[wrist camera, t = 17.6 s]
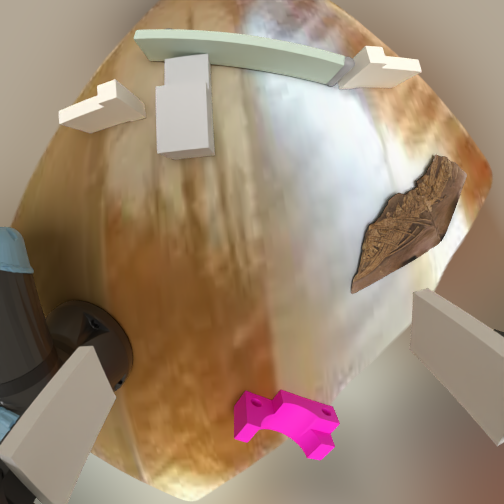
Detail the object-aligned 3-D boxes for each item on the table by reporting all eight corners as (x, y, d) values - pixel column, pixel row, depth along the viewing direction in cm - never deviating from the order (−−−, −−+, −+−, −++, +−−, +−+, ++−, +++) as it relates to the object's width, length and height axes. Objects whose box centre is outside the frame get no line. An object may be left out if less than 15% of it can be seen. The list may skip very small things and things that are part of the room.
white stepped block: (174, 159, 35) (157, 153, 27) (171, 70, 32) (156, 45, 24) (215, 155, 35) (208, 147, 27) (210, 66, 32) (204, 38, 24)
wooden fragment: (448, 140, 34) (453, 140, 33) (475, 199, 38) (479, 200, 37) (324, 255, 37) (326, 257, 36) (365, 309, 40) (368, 312, 39)
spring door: (149, 61, 31) (133, 39, 24) (154, 45, 30) (139, 21, 23) (335, 87, 33) (354, 69, 26) (337, 70, 32) (356, 50, 25)
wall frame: (90, 134, 33) (50, 123, 23) (89, 121, 32) (49, 106, 23) (391, 89, 33) (431, 68, 24) (388, 76, 33) (426, 53, 23)
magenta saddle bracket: (332, 406, 44) (345, 436, 37) (311, 429, 45) (320, 460, 38) (253, 378, 42) (256, 411, 34) (234, 405, 43) (234, 438, 35)
